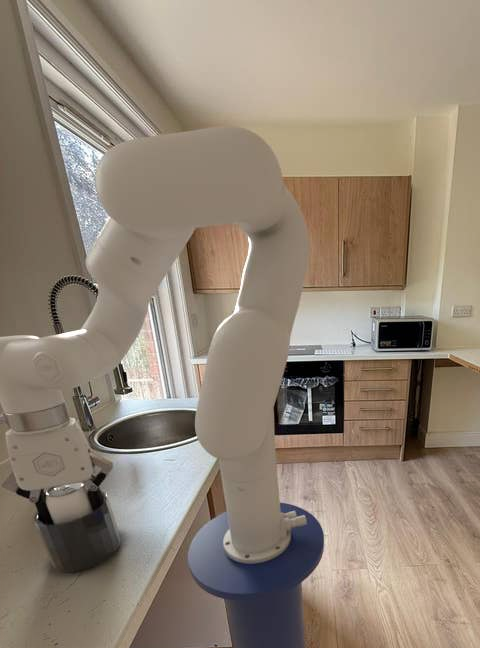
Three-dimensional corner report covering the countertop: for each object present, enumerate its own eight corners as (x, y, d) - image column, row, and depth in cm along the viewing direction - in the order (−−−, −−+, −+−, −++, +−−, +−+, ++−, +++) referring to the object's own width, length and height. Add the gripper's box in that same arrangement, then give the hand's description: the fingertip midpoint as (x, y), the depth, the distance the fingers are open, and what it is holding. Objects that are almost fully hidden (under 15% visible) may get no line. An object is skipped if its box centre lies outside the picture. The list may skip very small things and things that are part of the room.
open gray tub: (124, 526, 71) (111, 484, 68) (116, 562, 62) (101, 516, 58) (62, 540, 68) (45, 497, 64) (44, 580, 59) (23, 532, 55)
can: (92, 528, 68) (73, 474, 64) (113, 537, 66) (95, 482, 61) (57, 549, 63) (33, 492, 58) (78, 559, 60) (56, 501, 56)
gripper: (-44, 435, 49) (5, 538, 56) (97, 416, 54) (126, 511, 61) (-18, 418, 55) (23, 512, 62) (106, 403, 61) (131, 490, 68)
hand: (74, 511), depth 62 cm, fingers closed on can, 6 cm apart
